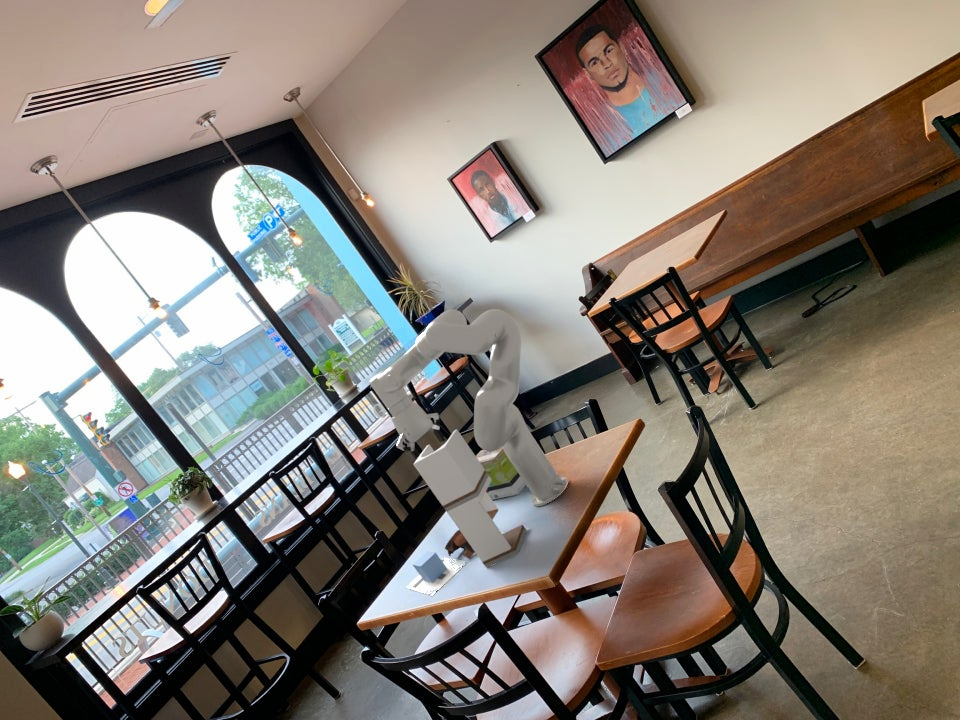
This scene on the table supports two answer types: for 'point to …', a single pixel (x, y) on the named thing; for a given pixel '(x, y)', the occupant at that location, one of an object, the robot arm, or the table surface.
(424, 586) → the letter mat
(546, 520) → the table surface
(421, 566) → the slate blue cube
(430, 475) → the notched white pillar
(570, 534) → the table surface
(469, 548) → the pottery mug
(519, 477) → the tea box
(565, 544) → the table surface
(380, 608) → the table surface
